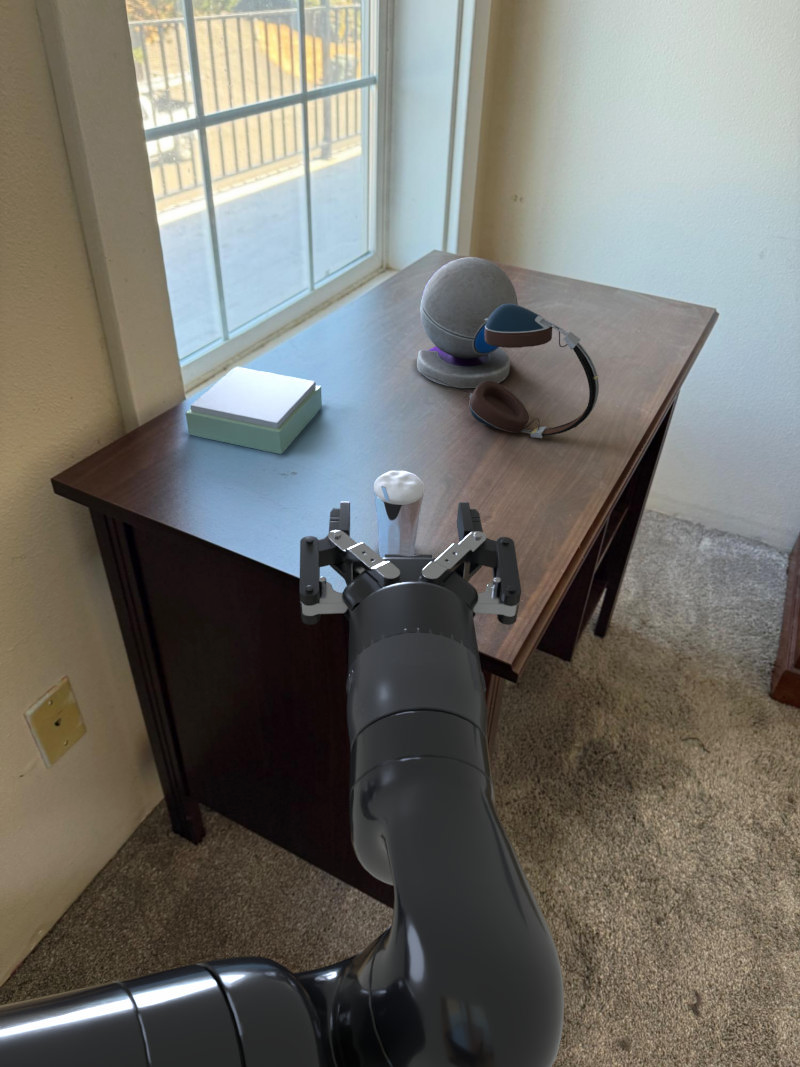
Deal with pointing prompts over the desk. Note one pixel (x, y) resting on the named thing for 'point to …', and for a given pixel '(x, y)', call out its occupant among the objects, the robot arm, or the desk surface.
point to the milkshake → (398, 511)
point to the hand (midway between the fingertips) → (404, 511)
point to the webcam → (464, 323)
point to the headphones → (499, 403)
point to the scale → (255, 409)
